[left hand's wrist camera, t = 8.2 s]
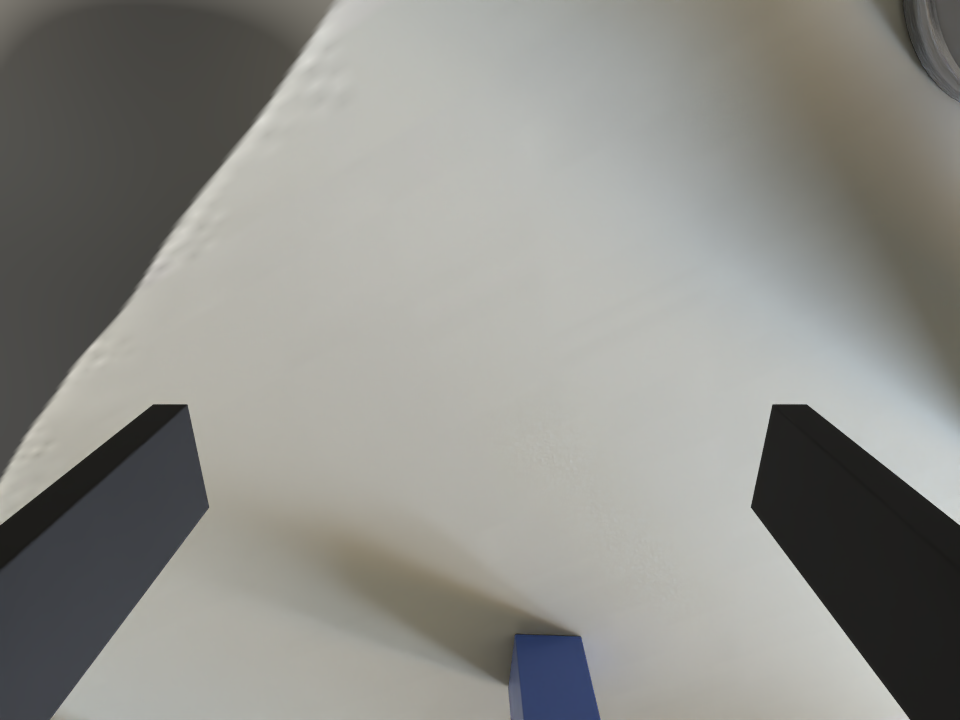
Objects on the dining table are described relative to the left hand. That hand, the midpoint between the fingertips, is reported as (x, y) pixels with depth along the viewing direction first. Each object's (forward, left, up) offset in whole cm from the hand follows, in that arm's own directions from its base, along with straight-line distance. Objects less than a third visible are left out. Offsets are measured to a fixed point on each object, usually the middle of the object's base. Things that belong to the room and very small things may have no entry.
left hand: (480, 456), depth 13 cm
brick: (+9, +28, -19) cm, 34 cm away
